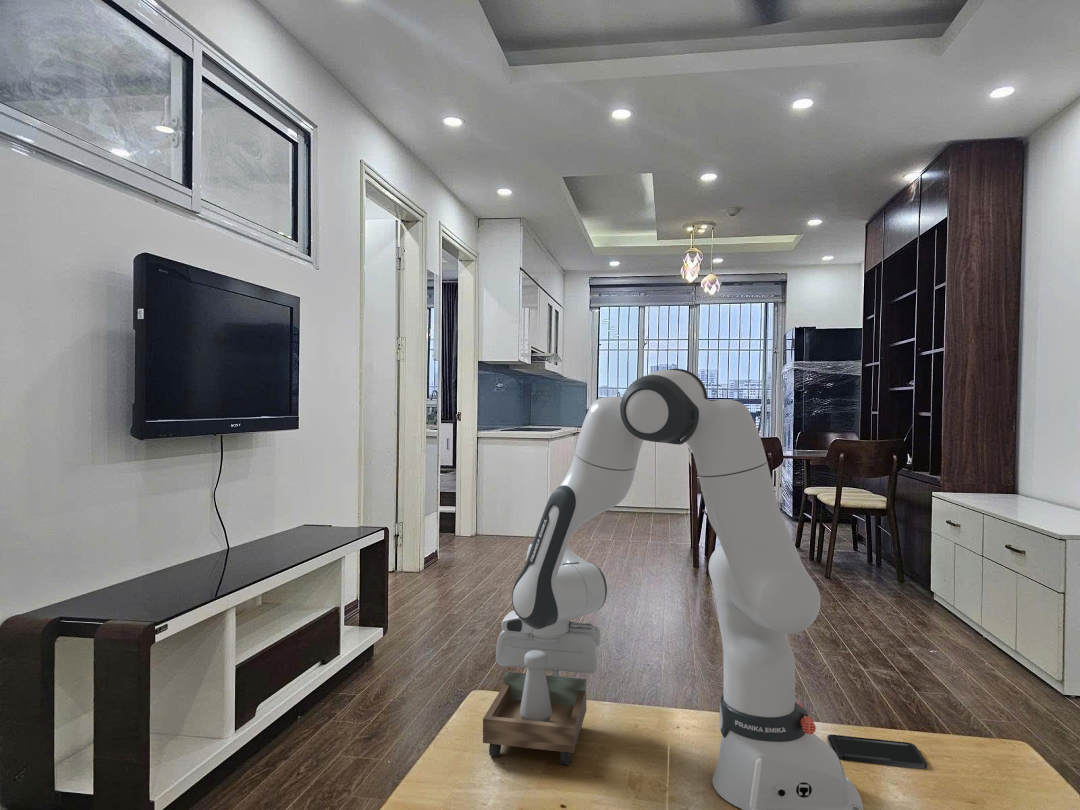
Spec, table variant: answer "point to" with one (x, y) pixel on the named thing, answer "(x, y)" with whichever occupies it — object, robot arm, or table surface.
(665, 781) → the table surface
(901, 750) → the phone
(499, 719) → the open wooden tray
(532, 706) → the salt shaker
